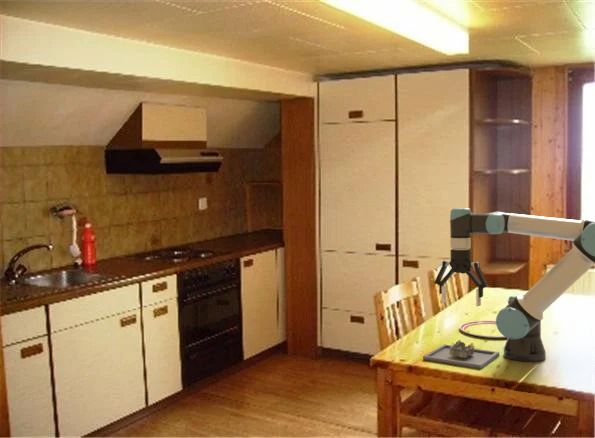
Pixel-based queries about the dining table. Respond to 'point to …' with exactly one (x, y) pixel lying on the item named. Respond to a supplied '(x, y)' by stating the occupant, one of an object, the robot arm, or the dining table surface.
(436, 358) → the holder tray
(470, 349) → the egg carton
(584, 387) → the dining table surface
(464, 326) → the striped ring
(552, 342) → the dining table surface
